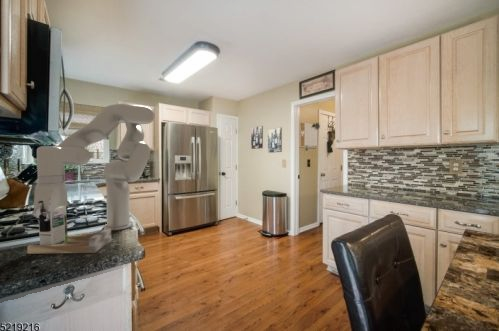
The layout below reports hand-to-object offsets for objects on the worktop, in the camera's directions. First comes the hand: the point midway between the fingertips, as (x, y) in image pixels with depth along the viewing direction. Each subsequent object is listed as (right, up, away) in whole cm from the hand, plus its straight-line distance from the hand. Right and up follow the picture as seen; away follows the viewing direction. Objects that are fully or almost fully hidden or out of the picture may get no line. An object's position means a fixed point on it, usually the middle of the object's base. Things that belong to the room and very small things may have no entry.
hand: (53, 227), depth 83 cm
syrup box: (0, -7, 0) cm, 7 cm away
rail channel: (+6, -7, 0) cm, 9 cm away
